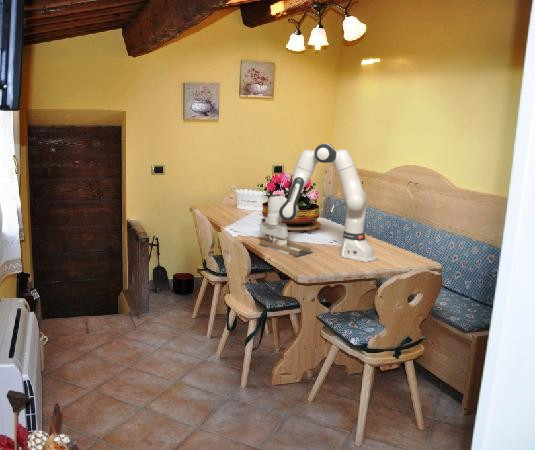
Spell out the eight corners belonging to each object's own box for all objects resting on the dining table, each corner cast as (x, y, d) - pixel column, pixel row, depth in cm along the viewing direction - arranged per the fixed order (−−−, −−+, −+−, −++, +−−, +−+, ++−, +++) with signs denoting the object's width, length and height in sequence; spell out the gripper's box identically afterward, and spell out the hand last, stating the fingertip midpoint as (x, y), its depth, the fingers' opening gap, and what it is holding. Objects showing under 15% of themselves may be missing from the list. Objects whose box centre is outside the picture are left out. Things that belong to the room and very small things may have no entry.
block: (286, 246, 326) (286, 239, 325) (279, 248, 322) (280, 241, 321) (279, 244, 330) (279, 237, 329) (272, 246, 326) (272, 238, 325)
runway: (312, 253, 319) (313, 247, 318) (295, 257, 308) (295, 251, 307) (275, 242, 339) (275, 236, 338) (257, 246, 327) (257, 240, 326)
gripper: (290, 223, 322) (289, 245, 325) (265, 217, 335) (264, 238, 338) (283, 224, 317) (282, 247, 320) (258, 218, 331) (257, 240, 334)
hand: (272, 242), depth 329 cm, fingers closed
